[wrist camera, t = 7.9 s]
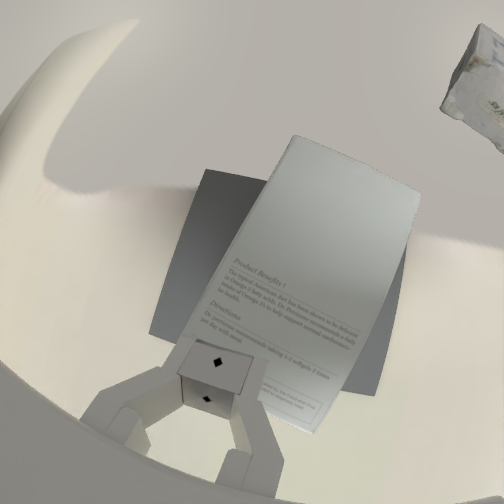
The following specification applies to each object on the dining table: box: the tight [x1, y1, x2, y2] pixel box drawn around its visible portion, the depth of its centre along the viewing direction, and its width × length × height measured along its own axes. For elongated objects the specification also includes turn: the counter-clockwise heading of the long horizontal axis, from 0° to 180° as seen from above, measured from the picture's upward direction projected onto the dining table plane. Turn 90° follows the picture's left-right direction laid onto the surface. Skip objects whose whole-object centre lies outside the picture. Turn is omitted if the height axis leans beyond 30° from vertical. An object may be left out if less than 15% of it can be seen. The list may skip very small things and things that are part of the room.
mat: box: [149, 169, 407, 396], centre depth 20 cm, size 16×13×1 cm
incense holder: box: [440, 23, 504, 154], centre depth 18 cm, size 10×8×10 cm
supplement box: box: [177, 135, 421, 434], centre depth 16 cm, size 7×7×13 cm
